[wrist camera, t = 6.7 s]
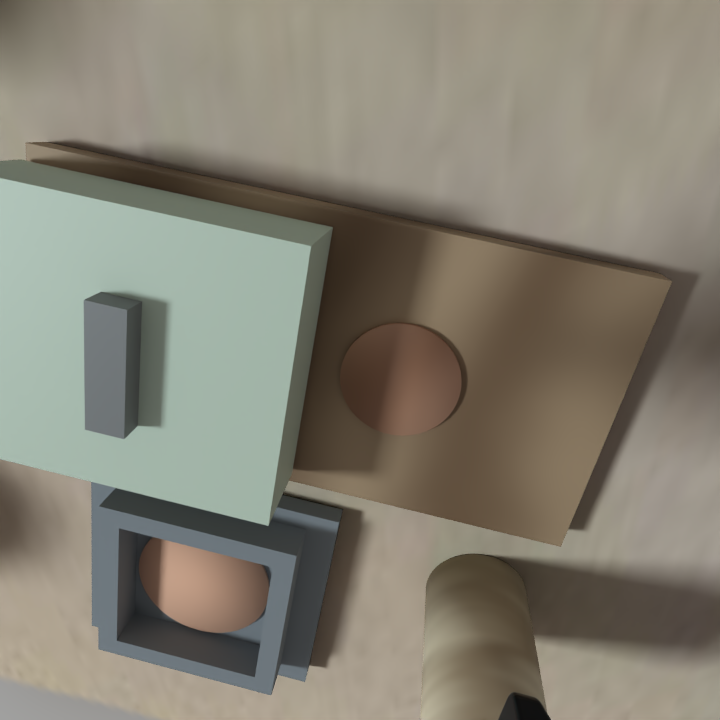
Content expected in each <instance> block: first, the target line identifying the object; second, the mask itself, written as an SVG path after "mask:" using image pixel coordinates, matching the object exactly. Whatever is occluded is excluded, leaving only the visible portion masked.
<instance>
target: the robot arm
mask: <svg viewBox="0 0 720 720" xmlns="http://www.w3.org/2000/svg"><path fill="white" fill-rule="evenodd" d="M498 720H551V719H550V717H549V715H548V714H547V712H546V710H545V708H544V707H543V705H542V703H541V702H540V701H539V700H538V699H537V698H535V697H533V696H529V695H525V694H521V693H517V692H512V693H511V694H509V696H508V698H507V700H506V702H505V705H504V707H503V709H502V711H501V714H500V716H499V718H498Z"/></svg>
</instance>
